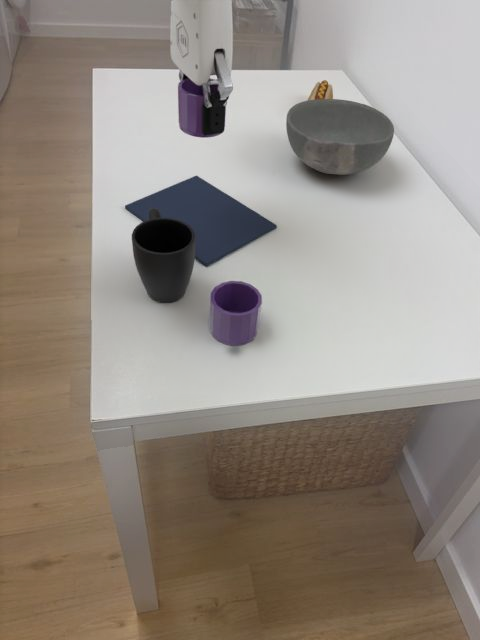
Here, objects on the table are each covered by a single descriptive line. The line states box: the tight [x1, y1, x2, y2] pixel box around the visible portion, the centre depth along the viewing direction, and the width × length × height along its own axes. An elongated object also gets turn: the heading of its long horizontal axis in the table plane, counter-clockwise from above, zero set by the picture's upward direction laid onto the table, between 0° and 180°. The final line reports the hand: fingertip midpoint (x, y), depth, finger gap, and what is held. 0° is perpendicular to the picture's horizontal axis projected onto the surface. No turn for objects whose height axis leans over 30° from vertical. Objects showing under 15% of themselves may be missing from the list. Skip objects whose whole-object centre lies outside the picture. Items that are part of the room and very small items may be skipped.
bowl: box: [285, 98, 395, 176], centre depth 101 cm, size 20×20×10 cm
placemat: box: [124, 175, 278, 267], centre depth 88 cm, size 20×16×1 cm
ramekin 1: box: [177, 77, 227, 139], centre depth 74 cm, size 7×7×6 cm
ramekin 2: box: [209, 280, 263, 347], centre depth 70 cm, size 7×7×6 cm
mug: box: [131, 208, 196, 304], centre depth 73 cm, size 8×12×10 cm
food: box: [307, 79, 334, 101], centre depth 120 cm, size 14×6×5 cm, turn 169°
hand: (201, 120), depth 76 cm, fingers closed on ramekin 1, 6 cm apart
